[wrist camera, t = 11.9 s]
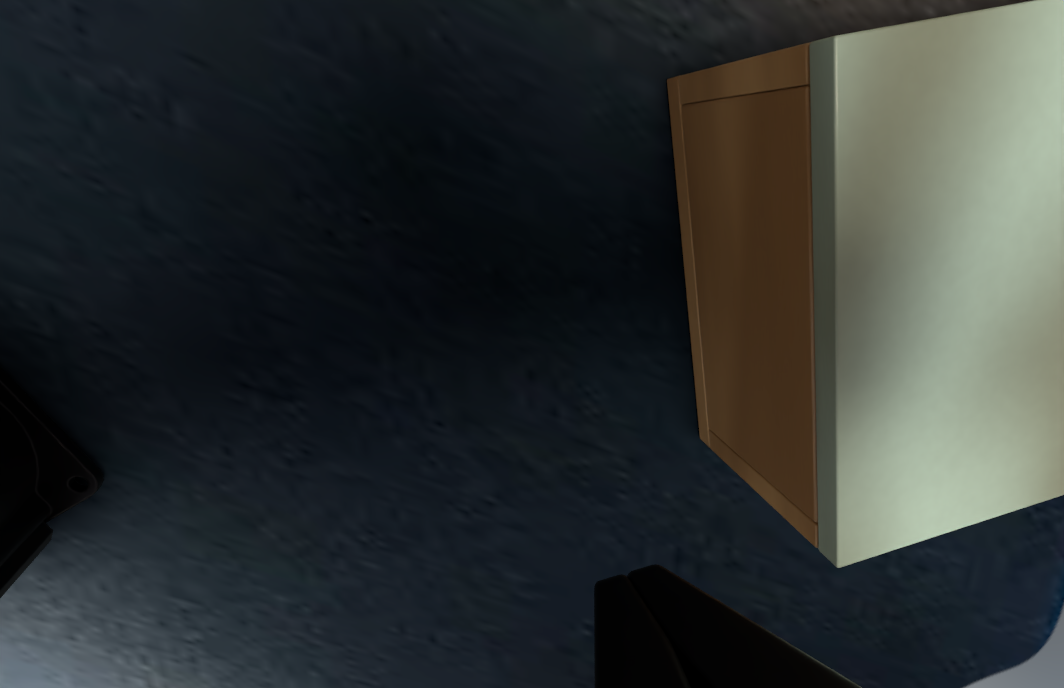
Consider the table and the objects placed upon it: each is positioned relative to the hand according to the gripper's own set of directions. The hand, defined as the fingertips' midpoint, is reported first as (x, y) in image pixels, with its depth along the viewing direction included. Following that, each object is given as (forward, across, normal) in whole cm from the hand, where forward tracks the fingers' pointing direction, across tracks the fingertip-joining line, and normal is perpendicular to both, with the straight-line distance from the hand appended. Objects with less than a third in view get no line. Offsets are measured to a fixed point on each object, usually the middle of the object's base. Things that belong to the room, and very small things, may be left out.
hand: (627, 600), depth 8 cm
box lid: (+6, -15, 0) cm, 16 cm away
